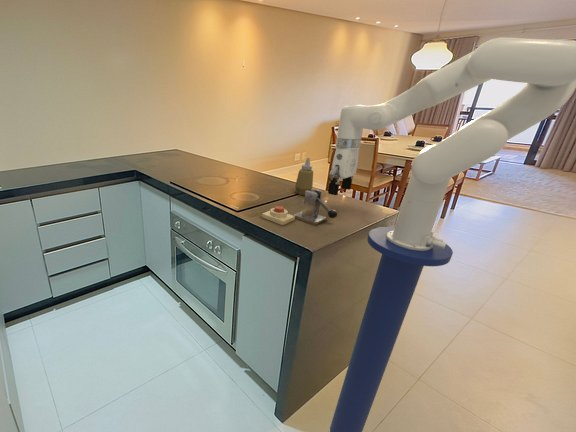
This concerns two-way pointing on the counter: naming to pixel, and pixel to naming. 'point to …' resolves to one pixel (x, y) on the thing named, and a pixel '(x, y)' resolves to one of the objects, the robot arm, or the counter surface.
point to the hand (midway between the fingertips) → (339, 191)
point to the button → (279, 209)
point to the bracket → (311, 208)
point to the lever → (330, 212)
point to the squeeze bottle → (304, 178)
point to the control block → (278, 217)
